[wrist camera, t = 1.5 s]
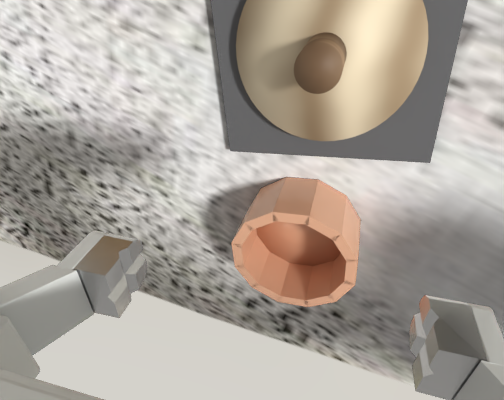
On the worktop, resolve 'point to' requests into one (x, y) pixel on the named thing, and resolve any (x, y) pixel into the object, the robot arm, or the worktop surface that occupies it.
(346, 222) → the bowl
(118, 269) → the robot arm
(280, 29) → the lid
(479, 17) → the worktop surface
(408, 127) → the mat
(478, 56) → the worktop surface
